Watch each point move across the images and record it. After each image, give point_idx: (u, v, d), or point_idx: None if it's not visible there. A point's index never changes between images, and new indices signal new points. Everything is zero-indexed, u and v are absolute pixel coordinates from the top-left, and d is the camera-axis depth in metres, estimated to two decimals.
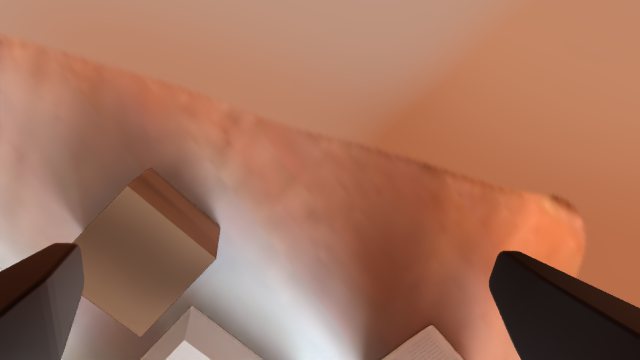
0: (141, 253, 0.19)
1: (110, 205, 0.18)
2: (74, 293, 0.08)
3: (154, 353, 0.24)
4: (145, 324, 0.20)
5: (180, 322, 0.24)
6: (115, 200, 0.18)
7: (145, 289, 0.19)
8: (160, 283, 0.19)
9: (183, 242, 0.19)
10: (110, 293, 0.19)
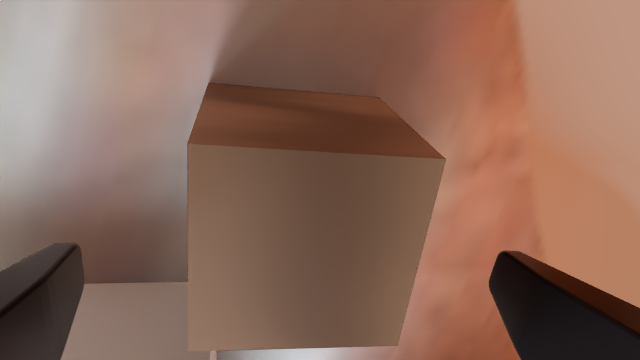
0: (336, 257, 0.09)
1: (393, 159, 0.08)
2: (74, 293, 0.08)
3: (120, 310, 0.13)
4: (216, 342, 0.10)
5: None
6: (407, 160, 0.09)
7: (277, 303, 0.10)
8: (302, 314, 0.10)
9: (396, 294, 0.10)
10: (229, 266, 0.09)
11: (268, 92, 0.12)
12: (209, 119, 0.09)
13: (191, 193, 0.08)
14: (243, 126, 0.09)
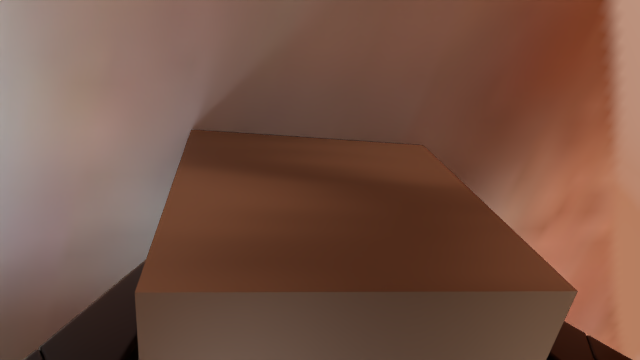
0: None
1: (493, 296, 0.05)
2: None
3: None
4: None
5: None
6: (516, 296, 0.05)
7: None
8: None
9: None
10: None
11: (275, 145, 0.08)
12: (182, 214, 0.06)
13: None
14: (237, 230, 0.05)
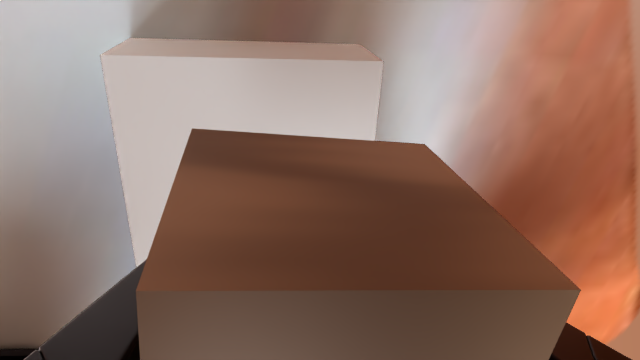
0: None
1: (496, 295, 0.05)
2: None
3: (294, 48, 0.16)
4: None
5: (343, 46, 0.17)
6: (519, 295, 0.05)
7: None
8: None
9: None
10: None
11: (276, 144, 0.08)
12: (184, 213, 0.06)
13: None
14: (239, 228, 0.05)
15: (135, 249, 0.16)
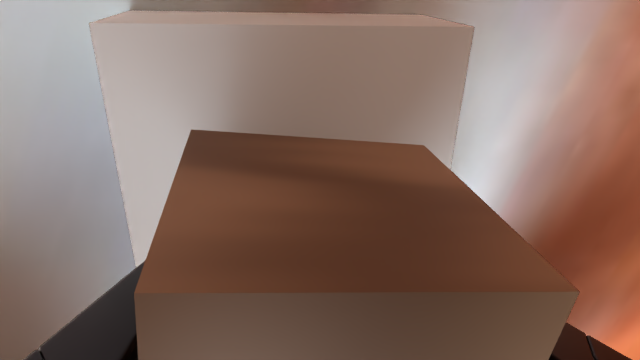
0: None
1: (495, 297, 0.05)
2: None
3: (345, 17, 0.12)
4: None
5: (405, 16, 0.13)
6: (518, 297, 0.05)
7: None
8: None
9: None
10: None
11: (275, 145, 0.08)
12: (182, 215, 0.06)
13: None
14: (238, 230, 0.05)
15: None
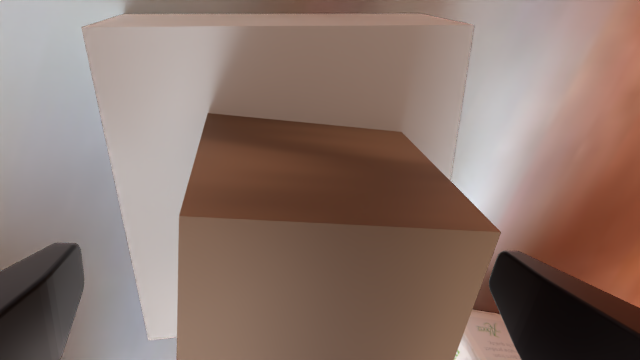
0: (359, 343, 0.08)
1: (437, 232, 0.07)
2: (74, 293, 0.08)
3: (342, 17, 0.12)
4: None
5: (403, 15, 0.13)
6: (454, 233, 0.07)
7: None
8: None
9: None
10: (228, 356, 0.07)
11: (277, 127, 0.10)
12: (207, 171, 0.07)
13: (182, 274, 0.06)
14: (249, 183, 0.07)
15: (141, 293, 0.12)
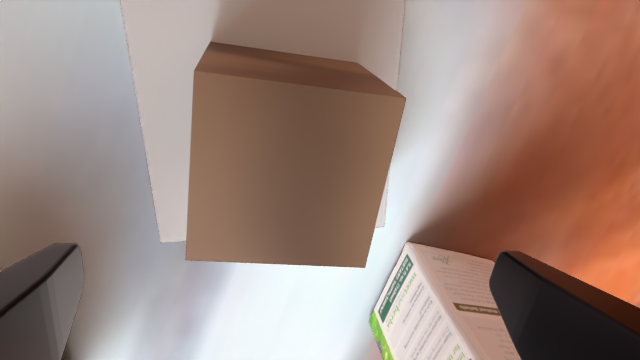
0: (314, 180, 0.11)
1: (362, 95, 0.10)
2: (74, 293, 0.08)
3: None
4: (209, 253, 0.11)
5: None
6: (374, 97, 0.10)
7: (263, 220, 0.11)
8: (284, 231, 0.12)
9: (363, 219, 0.12)
10: (223, 182, 0.11)
11: (261, 51, 0.14)
12: (210, 60, 0.11)
13: (195, 114, 0.10)
14: (239, 66, 0.11)
15: (156, 201, 0.16)
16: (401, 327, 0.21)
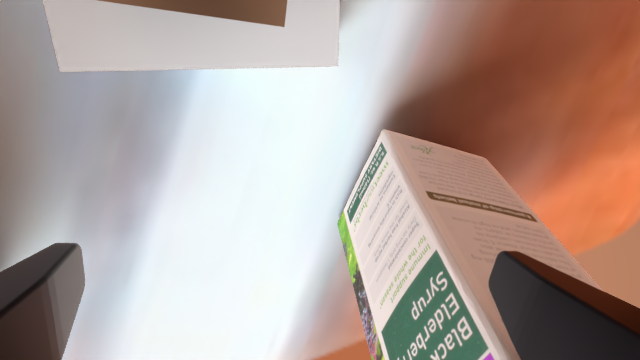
0: None
1: None
2: (75, 293, 0.08)
3: None
4: None
5: None
6: None
7: None
8: None
9: None
10: None
11: None
12: None
13: None
14: None
15: (48, 11, 0.13)
16: (368, 224, 0.18)
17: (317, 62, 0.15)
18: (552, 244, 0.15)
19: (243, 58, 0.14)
